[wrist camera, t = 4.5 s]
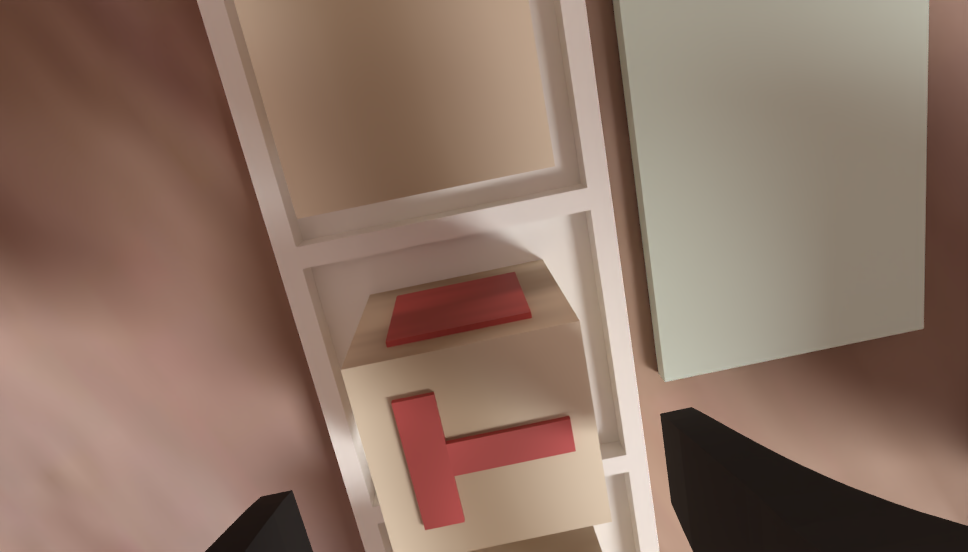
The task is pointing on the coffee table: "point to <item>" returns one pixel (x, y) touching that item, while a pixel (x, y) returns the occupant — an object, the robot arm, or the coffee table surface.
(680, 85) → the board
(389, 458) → the lettered cube
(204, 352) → the coffee table surface
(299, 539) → the robot arm
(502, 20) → the plain cube near
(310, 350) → the sorting tray
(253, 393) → the coffee table surface
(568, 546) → the plain cube far
